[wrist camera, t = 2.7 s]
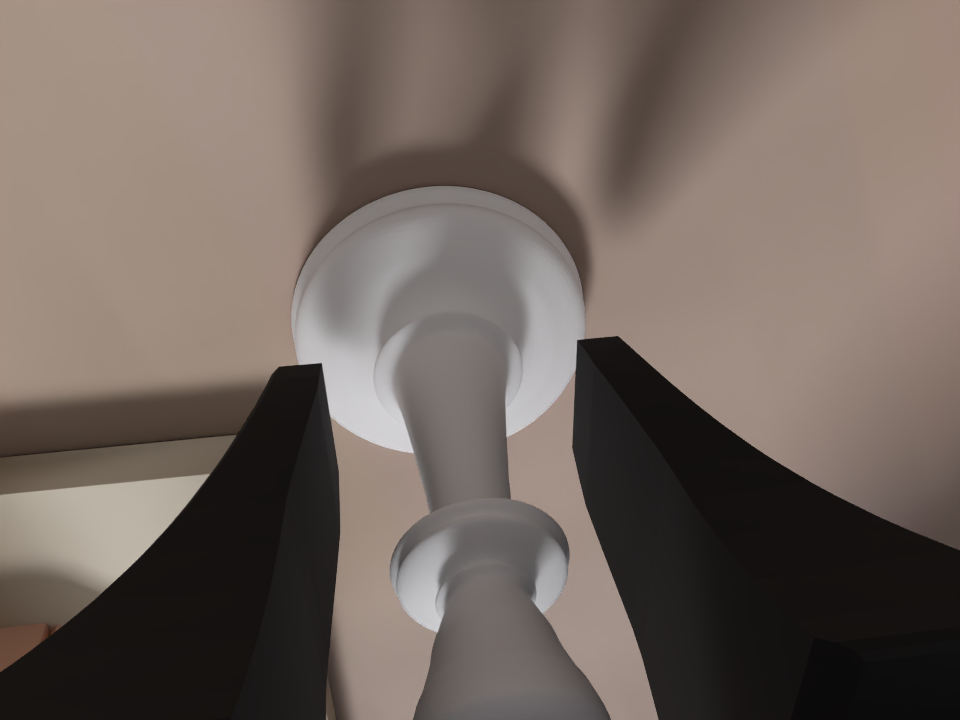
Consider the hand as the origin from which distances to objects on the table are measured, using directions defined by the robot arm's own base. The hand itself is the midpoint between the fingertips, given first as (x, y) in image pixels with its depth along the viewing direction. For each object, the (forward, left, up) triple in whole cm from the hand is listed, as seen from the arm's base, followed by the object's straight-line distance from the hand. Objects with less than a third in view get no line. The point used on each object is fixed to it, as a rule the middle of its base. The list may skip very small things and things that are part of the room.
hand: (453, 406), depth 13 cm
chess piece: (0, 0, -3) cm, 3 cm away
